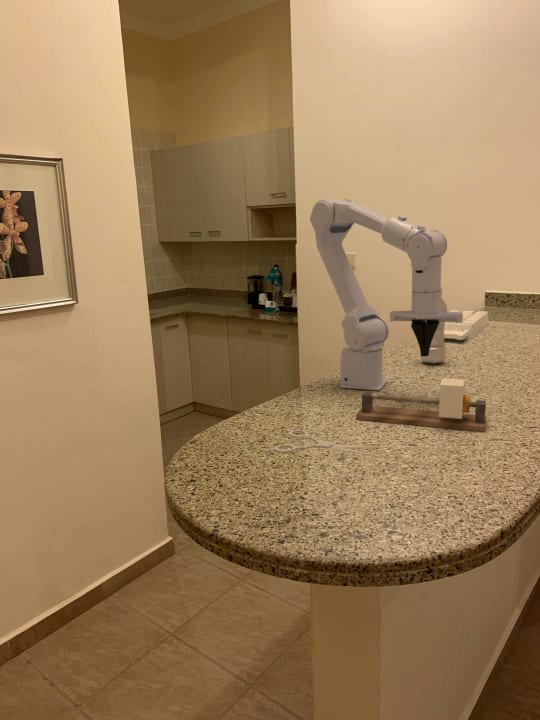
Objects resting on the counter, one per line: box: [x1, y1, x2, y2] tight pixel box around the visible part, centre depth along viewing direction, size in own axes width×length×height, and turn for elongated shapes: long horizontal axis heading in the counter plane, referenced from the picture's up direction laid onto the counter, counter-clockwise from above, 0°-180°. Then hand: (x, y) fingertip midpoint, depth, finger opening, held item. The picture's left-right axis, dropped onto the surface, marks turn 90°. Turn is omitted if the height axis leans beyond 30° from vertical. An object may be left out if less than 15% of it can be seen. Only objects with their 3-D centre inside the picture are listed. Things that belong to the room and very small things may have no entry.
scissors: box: [262, 429, 386, 458], centre depth 94 cm, size 11×1×20 cm
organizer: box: [444, 309, 489, 341], centre depth 180 cm, size 13×5×35 cm
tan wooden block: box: [438, 377, 466, 419], centre depth 100 cm, size 4×4×6 cm
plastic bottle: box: [420, 287, 448, 365], centre depth 142 cm, size 6×7×20 cm
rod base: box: [355, 391, 488, 433], centre depth 103 cm, size 24×6×6 cm, turn 66°
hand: (424, 355), depth 114 cm, fingers closed
